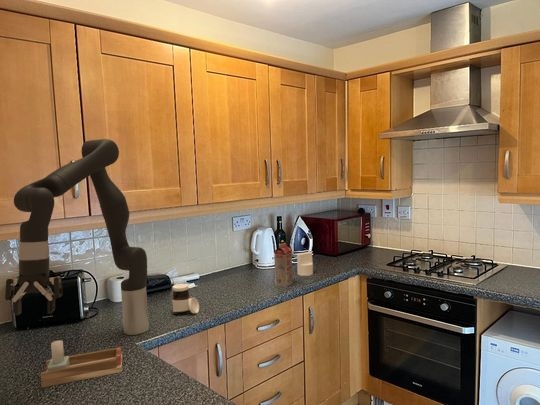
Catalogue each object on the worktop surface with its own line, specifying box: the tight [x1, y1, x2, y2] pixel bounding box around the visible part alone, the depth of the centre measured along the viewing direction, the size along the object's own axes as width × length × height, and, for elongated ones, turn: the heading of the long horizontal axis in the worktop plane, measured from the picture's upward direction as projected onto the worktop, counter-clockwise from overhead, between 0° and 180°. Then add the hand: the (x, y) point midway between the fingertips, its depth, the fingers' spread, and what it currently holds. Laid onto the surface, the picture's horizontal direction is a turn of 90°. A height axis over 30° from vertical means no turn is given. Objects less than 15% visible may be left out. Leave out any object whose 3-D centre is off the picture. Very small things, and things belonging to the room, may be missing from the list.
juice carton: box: [273, 242, 294, 288], centre depth 206 cm, size 7×7×22 cm
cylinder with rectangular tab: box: [296, 251, 314, 277], centre depth 226 cm, size 9×9×12 cm
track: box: [40, 346, 123, 388], centre depth 122 cm, size 10×22×4 cm, turn 110°
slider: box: [46, 340, 70, 371], centre depth 119 cm, size 6×5×9 cm
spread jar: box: [171, 283, 200, 316], centre depth 171 cm, size 12×11×12 cm
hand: (34, 313), depth 111 cm, fingers open, 8 cm apart
